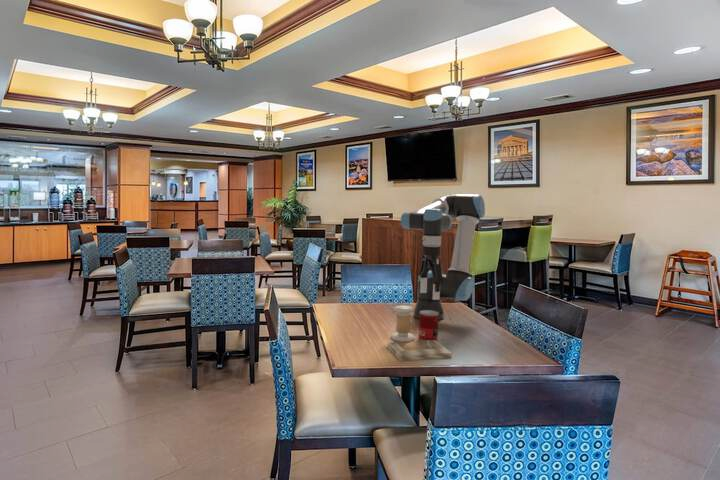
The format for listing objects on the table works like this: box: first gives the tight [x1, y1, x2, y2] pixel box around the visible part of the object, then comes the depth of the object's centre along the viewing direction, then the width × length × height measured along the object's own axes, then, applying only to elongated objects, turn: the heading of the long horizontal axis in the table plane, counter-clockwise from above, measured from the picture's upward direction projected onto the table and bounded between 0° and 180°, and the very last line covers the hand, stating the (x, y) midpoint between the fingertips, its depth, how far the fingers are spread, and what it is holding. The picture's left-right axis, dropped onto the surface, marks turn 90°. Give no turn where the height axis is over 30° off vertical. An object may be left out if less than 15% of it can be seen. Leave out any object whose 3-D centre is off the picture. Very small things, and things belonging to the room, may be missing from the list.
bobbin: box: [390, 305, 416, 343], centre depth 188 cm, size 10×10×13 cm
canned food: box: [418, 310, 439, 341], centre depth 189 cm, size 8×8×11 cm
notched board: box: [387, 339, 452, 362], centre depth 171 cm, size 20×15×2 cm
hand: (429, 296), depth 188 cm, fingers open, 13 cm apart
